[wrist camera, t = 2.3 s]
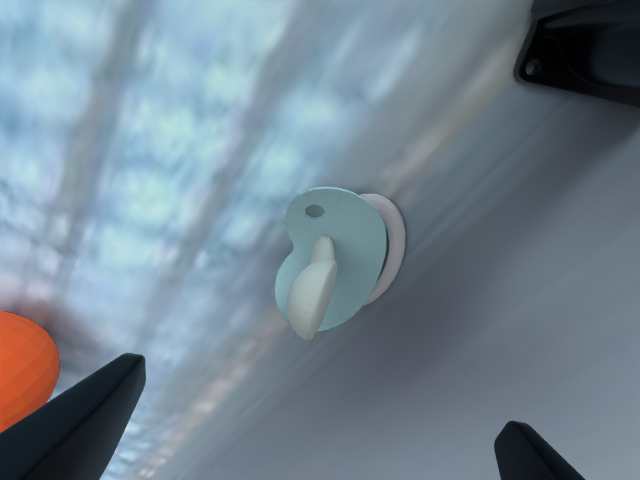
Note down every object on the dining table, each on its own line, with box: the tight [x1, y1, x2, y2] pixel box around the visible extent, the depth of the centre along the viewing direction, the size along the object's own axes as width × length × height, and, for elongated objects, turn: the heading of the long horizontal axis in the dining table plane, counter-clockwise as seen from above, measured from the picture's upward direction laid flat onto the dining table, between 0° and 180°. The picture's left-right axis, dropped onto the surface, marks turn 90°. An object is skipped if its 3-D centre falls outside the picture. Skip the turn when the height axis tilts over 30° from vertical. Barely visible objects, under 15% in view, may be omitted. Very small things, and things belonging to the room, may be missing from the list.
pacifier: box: [275, 187, 406, 341], centre depth 14 cm, size 7×6×6 cm
